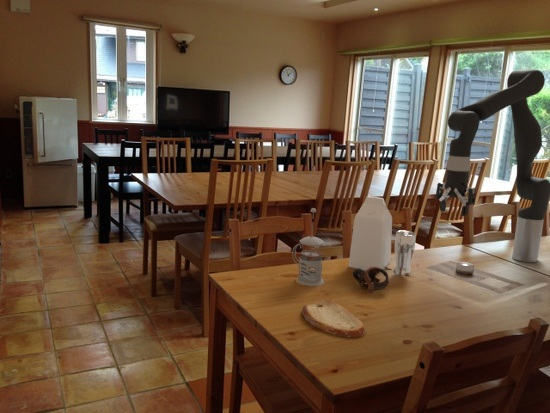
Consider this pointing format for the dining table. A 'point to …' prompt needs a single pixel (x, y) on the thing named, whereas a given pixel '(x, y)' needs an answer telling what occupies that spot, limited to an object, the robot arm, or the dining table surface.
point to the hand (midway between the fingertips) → (453, 213)
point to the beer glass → (404, 252)
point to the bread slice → (333, 319)
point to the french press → (310, 261)
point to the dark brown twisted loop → (371, 278)
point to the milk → (371, 236)
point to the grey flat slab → (474, 276)
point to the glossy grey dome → (464, 268)
